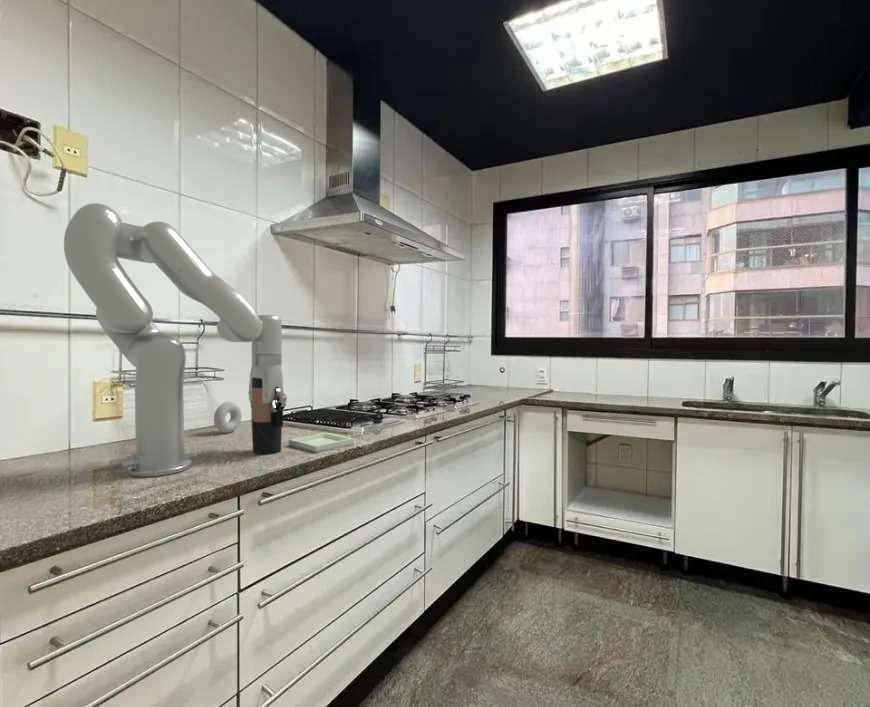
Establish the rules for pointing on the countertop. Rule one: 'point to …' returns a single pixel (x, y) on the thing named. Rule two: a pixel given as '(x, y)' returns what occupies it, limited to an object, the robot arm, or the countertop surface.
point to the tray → (320, 442)
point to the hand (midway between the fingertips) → (267, 424)
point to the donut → (221, 414)
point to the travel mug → (263, 423)
